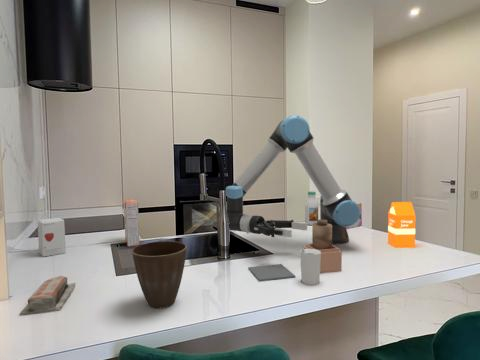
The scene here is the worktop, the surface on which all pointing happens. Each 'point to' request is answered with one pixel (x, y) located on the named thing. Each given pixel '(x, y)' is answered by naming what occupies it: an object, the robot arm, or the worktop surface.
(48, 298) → the packaged product
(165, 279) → the plant pot
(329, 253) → the terracotta box
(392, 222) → the orange juice
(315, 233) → the brown jar
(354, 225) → the gum box
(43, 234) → the supplement box
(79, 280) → the worktop surface
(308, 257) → the grey cylinder
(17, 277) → the worktop surface
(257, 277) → the slate mat
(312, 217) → the milk bottle
